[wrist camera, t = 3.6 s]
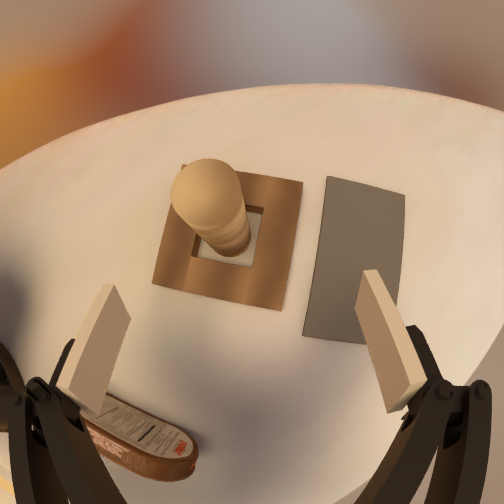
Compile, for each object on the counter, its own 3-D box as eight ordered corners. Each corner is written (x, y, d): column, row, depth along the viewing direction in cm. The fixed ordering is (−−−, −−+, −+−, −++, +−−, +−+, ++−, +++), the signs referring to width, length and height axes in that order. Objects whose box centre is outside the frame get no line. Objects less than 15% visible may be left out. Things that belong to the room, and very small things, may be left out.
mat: (301, 335, 25) (302, 336, 25) (326, 177, 28) (327, 175, 27) (386, 346, 24) (388, 346, 24) (403, 196, 27) (404, 195, 26)
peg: (205, 252, 27) (162, 218, 15) (214, 213, 27) (181, 155, 16) (246, 260, 27) (231, 230, 15) (254, 220, 27) (246, 163, 15)
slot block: (159, 284, 26) (151, 283, 25) (187, 172, 28) (182, 164, 26) (280, 310, 26) (281, 311, 24) (300, 190, 27) (303, 182, 25)
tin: (84, 397, 25) (40, 417, 16) (87, 375, 25) (41, 392, 17) (201, 453, 23) (182, 497, 15) (209, 432, 24) (190, 475, 16)
